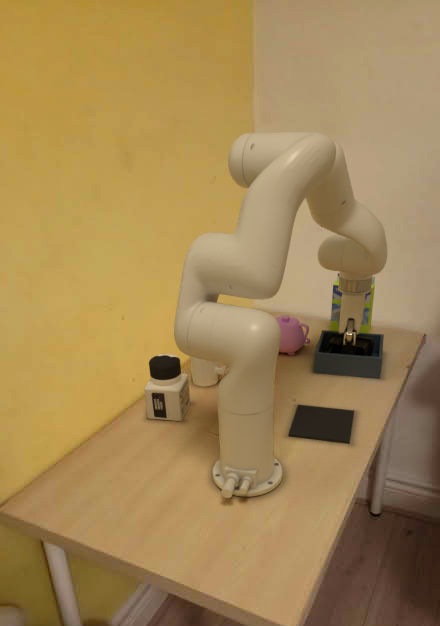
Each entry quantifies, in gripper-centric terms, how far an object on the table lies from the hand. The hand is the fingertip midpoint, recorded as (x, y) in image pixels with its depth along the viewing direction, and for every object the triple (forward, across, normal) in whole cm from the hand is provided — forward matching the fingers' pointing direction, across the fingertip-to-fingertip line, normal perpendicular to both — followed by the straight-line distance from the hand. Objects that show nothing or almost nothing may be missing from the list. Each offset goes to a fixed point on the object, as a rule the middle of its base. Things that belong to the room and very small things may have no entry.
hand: (349, 351), depth 134 cm
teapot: (+3, -5, -18) cm, 19 cm away
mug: (+3, +17, -31) cm, 36 cm away
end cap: (+3, 0, 0) cm, 3 cm away
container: (+3, +32, -36) cm, 48 cm away
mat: (+3, +30, -3) cm, 30 cm away
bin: (+3, 0, 0) cm, 3 cm away
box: (+3, -16, -1) cm, 16 cm away
